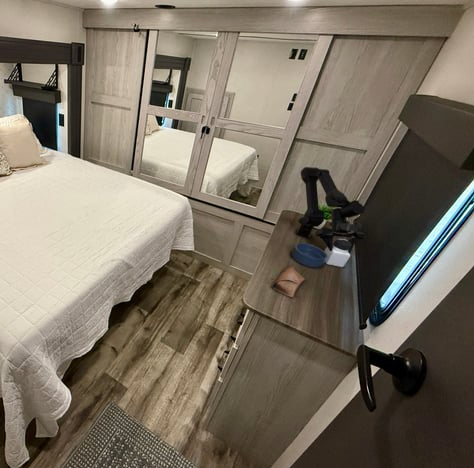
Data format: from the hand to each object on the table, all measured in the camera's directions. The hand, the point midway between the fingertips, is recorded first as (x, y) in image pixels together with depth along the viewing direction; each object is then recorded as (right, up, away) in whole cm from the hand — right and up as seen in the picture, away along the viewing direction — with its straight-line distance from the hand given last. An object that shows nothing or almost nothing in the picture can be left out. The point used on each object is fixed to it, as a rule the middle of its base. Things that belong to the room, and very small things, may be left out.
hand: (340, 252), depth 130 cm
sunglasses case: (-32, -13, -11) cm, 36 cm away
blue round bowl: (-12, -4, +5) cm, 14 cm away
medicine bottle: (0, -5, +5) cm, 7 cm away
